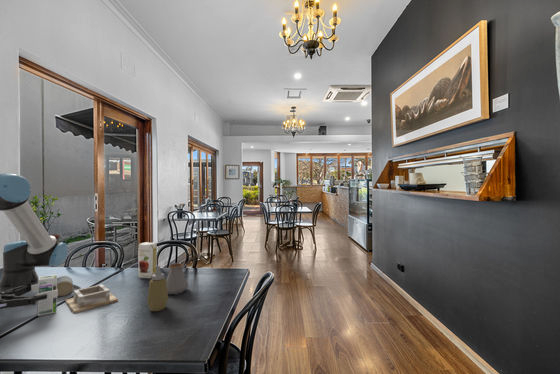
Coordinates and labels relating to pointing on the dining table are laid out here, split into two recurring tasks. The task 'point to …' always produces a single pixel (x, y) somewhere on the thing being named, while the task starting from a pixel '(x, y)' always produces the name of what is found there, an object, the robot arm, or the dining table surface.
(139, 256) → the juice carton
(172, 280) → the coffee pot
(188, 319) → the dining table surface
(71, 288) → the grey tan cylinder
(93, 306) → the collar socket
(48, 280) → the syrup box
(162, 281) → the squeeze bottle
